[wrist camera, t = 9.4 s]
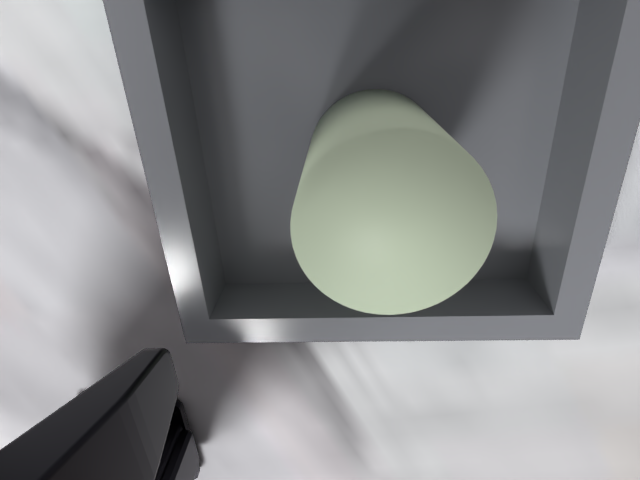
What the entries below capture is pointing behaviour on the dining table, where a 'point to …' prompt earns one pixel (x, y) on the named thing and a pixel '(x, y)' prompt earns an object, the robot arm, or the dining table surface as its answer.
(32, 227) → the dining table surface
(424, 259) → the pale green cylinder
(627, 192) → the dining table surface
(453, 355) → the dining table surface
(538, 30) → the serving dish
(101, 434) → the robot arm
